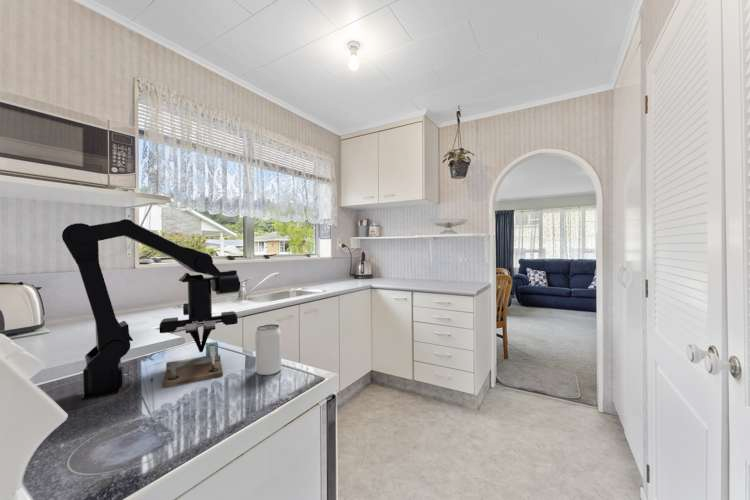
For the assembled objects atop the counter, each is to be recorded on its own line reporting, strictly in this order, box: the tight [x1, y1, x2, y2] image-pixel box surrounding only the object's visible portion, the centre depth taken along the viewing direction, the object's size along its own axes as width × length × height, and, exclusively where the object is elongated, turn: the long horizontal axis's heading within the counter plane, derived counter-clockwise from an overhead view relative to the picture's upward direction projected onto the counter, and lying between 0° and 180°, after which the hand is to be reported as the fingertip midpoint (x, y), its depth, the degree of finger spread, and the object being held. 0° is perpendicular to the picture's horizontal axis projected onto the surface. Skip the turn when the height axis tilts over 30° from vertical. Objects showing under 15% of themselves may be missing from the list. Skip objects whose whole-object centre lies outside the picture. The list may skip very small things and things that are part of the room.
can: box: [254, 323, 282, 376], centre depth 84 cm, size 6×6×12 cm
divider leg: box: [205, 341, 219, 369], centre depth 87 cm, size 3×10×4 cm, turn 30°
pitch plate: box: [162, 353, 224, 389], centre depth 83 cm, size 13×12×4 cm
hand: (201, 351), depth 88 cm, fingers closed
